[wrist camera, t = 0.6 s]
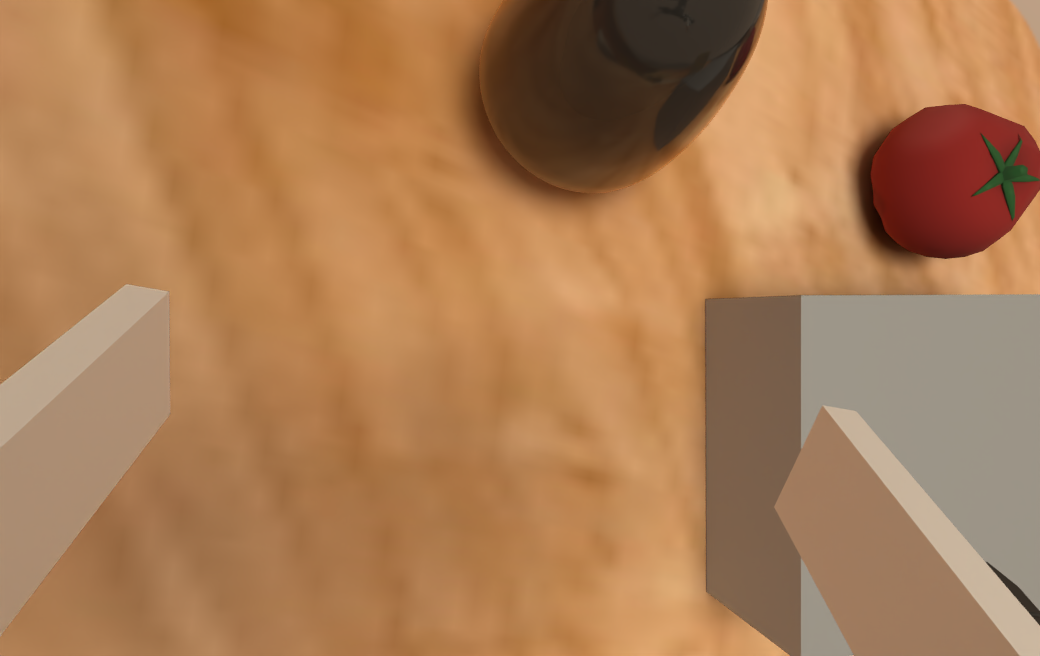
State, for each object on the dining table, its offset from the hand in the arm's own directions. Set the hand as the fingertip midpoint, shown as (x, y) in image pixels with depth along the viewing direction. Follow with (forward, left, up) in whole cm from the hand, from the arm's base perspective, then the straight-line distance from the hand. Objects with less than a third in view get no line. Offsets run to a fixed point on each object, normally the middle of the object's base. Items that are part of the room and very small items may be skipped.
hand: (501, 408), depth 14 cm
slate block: (+5, +24, -20) cm, 32 cm away
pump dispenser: (-13, +8, -20) cm, 25 cm away
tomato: (-9, +29, -20) cm, 36 cm away
